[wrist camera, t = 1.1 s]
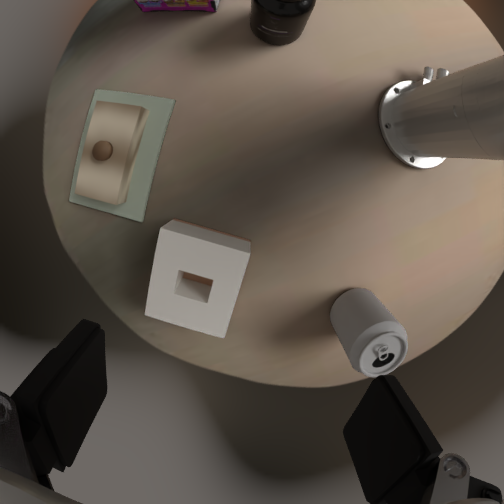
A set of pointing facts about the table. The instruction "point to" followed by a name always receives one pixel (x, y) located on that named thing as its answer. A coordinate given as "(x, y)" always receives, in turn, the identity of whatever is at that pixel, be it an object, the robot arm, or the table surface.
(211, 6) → the candy bar box
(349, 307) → the can
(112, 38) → the table surface
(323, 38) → the table surface
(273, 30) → the supplement bottle
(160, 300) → the gray block
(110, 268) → the table surface
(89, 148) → the lid
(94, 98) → the mat
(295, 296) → the table surface
